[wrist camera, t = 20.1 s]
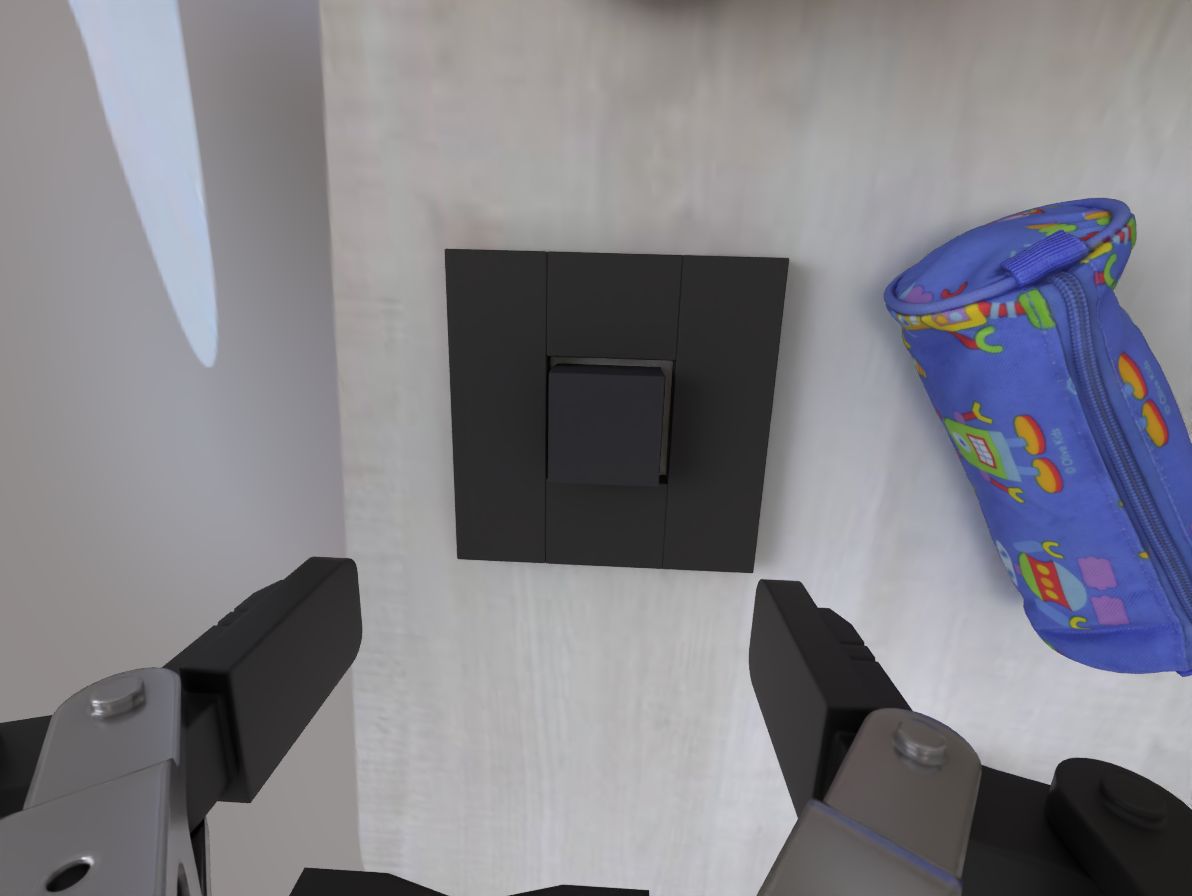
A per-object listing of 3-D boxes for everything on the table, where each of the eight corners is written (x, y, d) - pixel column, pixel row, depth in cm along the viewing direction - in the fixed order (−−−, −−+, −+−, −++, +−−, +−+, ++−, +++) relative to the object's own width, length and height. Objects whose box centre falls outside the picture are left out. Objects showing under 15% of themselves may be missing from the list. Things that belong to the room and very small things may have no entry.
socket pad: (464, 547, 33) (456, 559, 32) (453, 251, 29) (444, 248, 27) (747, 561, 32) (753, 573, 31) (780, 259, 28) (789, 258, 27)
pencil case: (1156, 556, 31) (1381, 666, 22) (1005, 624, 33) (1156, 754, 24) (1007, 192, 27) (1210, 139, 17) (839, 291, 28) (945, 290, 19)
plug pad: (555, 462, 31) (547, 482, 28) (556, 363, 30) (548, 372, 26) (654, 466, 31) (658, 487, 28) (660, 366, 30) (665, 376, 26)
